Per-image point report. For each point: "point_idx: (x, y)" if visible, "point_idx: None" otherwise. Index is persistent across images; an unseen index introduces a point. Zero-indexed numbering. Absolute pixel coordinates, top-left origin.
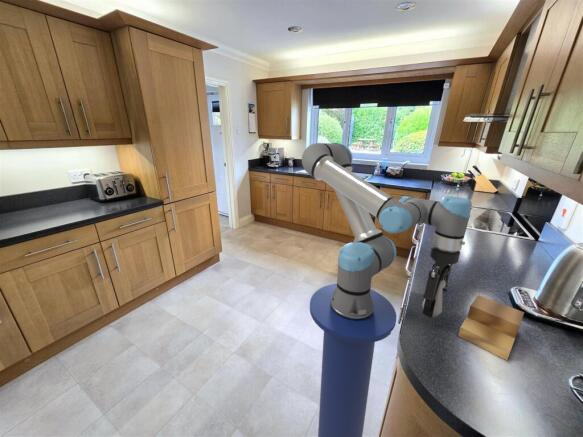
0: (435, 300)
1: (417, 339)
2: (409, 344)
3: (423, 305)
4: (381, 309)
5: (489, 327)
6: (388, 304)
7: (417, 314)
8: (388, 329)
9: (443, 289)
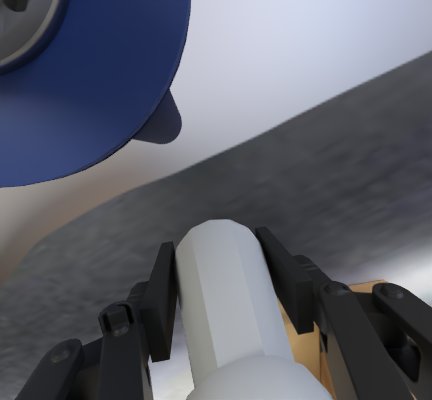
0: (158, 361)
1: (99, 253)
2: (52, 253)
3: (183, 241)
4: (88, 74)
5: (317, 374)
6: (152, 70)
7: (223, 179)
8: (12, 180)
9: (322, 347)
